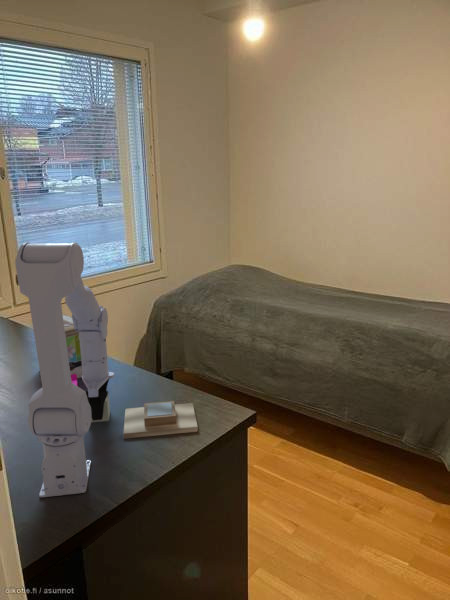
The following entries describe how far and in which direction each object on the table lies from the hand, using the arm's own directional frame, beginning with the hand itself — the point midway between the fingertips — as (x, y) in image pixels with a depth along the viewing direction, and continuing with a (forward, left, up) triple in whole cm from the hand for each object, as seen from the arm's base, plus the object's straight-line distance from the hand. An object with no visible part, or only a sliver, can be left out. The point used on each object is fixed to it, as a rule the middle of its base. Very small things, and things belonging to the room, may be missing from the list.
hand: (99, 411), depth 110 cm
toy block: (+14, +10, -2) cm, 18 cm away
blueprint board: (-5, -14, -1) cm, 15 cm away
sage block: (0, 0, -2) cm, 2 cm away
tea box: (+28, +11, -2) cm, 31 cm away
